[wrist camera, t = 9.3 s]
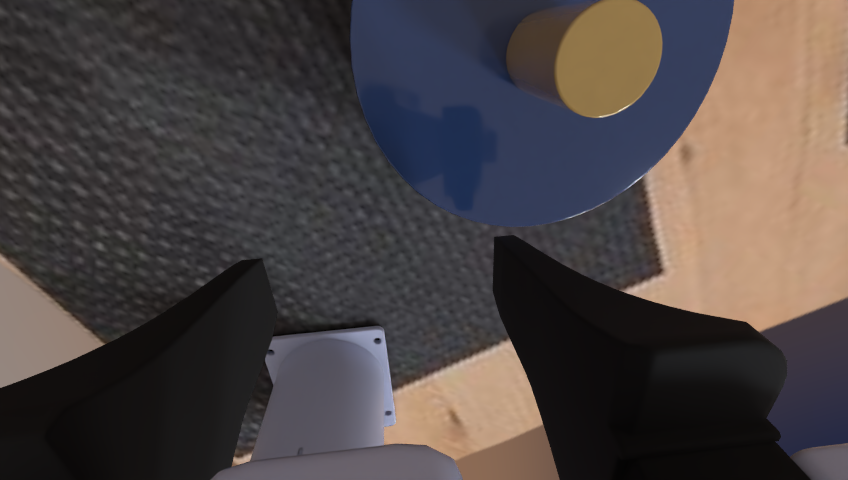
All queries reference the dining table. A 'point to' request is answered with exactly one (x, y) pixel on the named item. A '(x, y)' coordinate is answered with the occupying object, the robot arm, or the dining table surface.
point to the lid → (531, 96)
